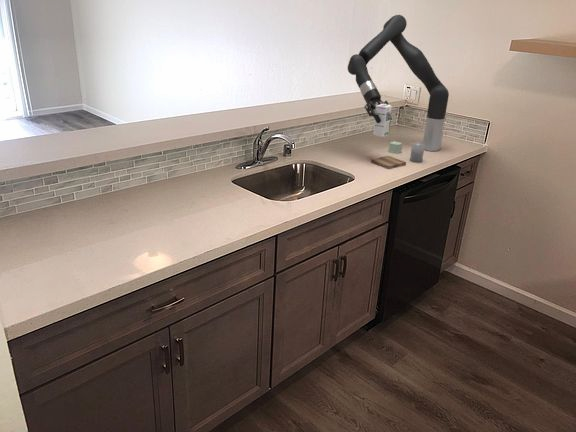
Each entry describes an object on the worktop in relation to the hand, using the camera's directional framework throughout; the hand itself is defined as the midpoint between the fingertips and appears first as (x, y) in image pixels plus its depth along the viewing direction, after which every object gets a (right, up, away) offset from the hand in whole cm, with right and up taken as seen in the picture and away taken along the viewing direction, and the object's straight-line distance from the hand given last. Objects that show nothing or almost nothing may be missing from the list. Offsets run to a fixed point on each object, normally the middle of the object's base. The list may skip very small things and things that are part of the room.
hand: (384, 121), depth 228 cm
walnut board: (+3, -20, +6) cm, 21 cm away
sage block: (+10, -11, +25) cm, 29 cm away
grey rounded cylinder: (+18, -17, +12) cm, 28 cm away
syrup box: (-1, -6, +4) cm, 7 cm away
